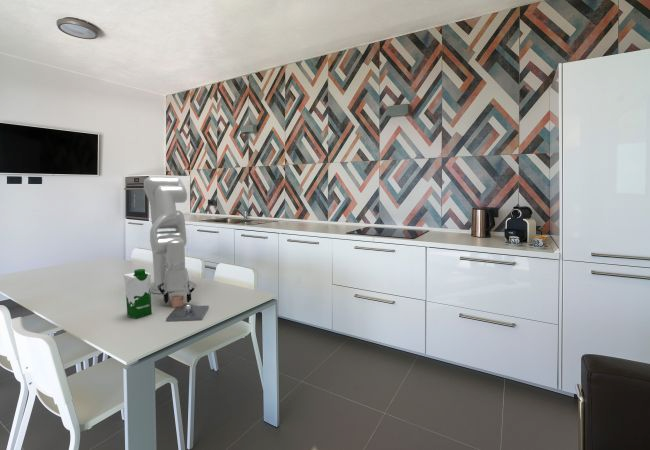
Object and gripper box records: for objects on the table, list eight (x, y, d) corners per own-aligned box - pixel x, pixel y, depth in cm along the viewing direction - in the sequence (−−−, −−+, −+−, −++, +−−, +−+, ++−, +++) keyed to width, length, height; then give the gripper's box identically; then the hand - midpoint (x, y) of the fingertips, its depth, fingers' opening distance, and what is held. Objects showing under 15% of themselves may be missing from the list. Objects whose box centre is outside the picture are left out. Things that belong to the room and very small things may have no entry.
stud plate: (166, 321, 138) (165, 311, 137) (176, 309, 152) (176, 300, 151) (201, 320, 139) (201, 310, 139) (208, 308, 153) (208, 299, 153)
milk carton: (134, 320, 139) (131, 273, 136) (123, 315, 144) (121, 269, 142) (154, 313, 146) (152, 268, 144) (144, 309, 151) (142, 265, 149)
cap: (170, 307, 153) (169, 298, 153) (173, 303, 159) (173, 294, 158) (182, 307, 154) (181, 298, 154) (185, 303, 159) (185, 294, 159)
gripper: (153, 268, 149) (155, 305, 151) (193, 267, 152) (194, 304, 153) (159, 264, 157) (161, 299, 159) (197, 264, 159) (199, 298, 161)
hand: (177, 302), depth 156 cm, fingers open, 9 cm apart
